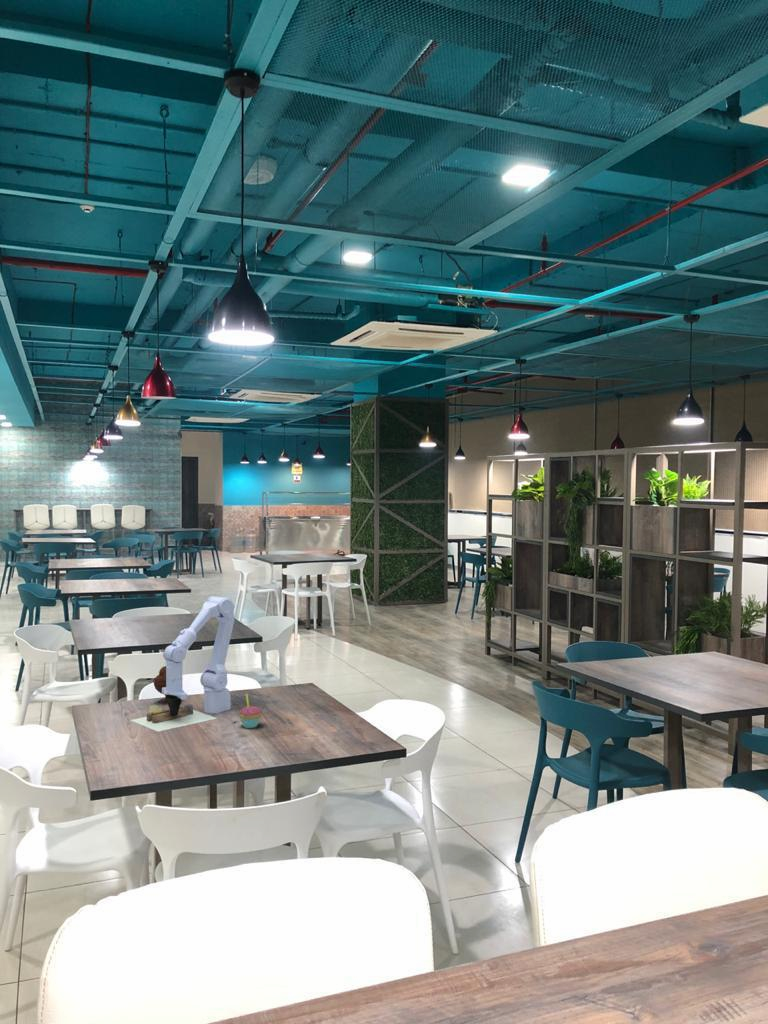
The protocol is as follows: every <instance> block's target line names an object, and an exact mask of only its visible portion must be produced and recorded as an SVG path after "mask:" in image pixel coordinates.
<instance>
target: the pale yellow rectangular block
mask: <svg viewBox="0 0 768 1024" xmlns="http://www.w3.org/2000/svg"><path fill="white" fill-rule="evenodd" d="M162 711H163V707H162V706H161V705H157V704H154V705H150V706H149V707H148V712H149V713H153V714H157V713H162Z"/></svg>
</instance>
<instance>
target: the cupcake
mask: <svg viewBox="0 0 768 1024" xmlns="http://www.w3.org/2000/svg"><path fill="white" fill-rule="evenodd" d="M245 693H246V694H245V699H246V706H244V707H242V708H241V709H240V710H239V711H238V713H237V714H238V718H240V720H241V722H242V724H243V725H242V726H243V727H244V728H245V729H253V728H257V727H258V724H259V720H260V719H261V718H262V717H263V715H264V712H263V710H262V709H261V707H258V706H254V705H250V703H249V695H248V693H247V692H245Z"/></svg>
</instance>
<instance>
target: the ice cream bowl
mask: <svg viewBox="0 0 768 1024" xmlns="http://www.w3.org/2000/svg"><path fill="white" fill-rule="evenodd" d="M152 682H153V686H154V689H155V690H156V691H157V692H158V693H160V694H161V695H164V699H165V697H168V696H169V694H167V695H165V694H164V693H162V688H164V687H166V665H165V666H163V667H161V668H160V669H159V671H158V675H157V676H155V677H154V680H153V681H152ZM162 703H163V704H168V703H167V701H166V699H165V700H163V701H162Z"/></svg>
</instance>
